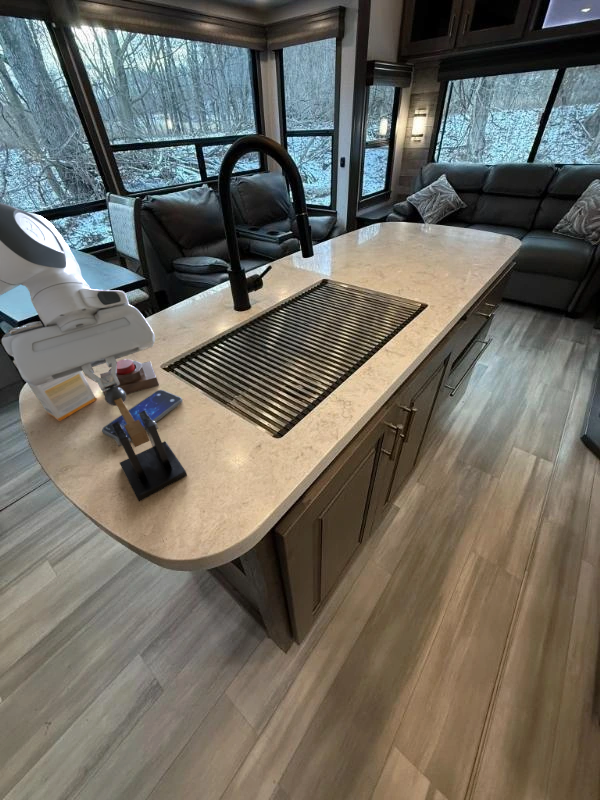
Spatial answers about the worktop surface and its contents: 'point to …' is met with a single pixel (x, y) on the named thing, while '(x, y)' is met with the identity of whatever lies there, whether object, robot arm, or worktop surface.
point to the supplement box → (64, 395)
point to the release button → (125, 367)
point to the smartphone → (147, 410)
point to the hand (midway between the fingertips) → (111, 387)
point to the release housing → (136, 378)
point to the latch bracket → (149, 461)
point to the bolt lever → (127, 416)
